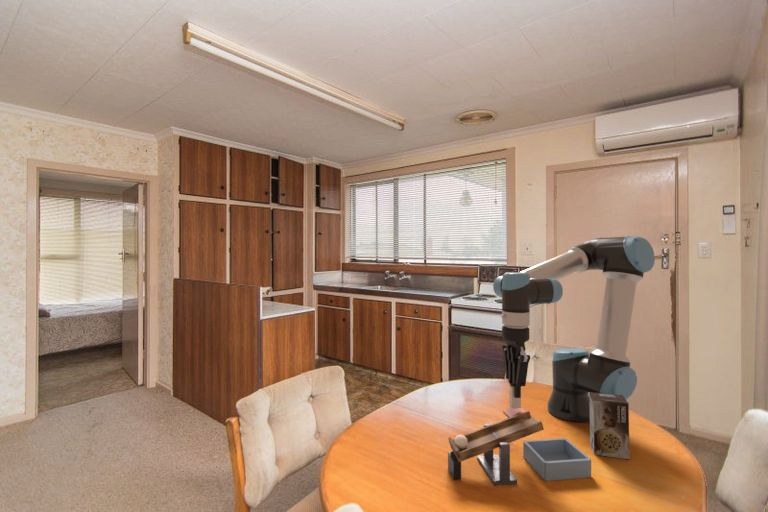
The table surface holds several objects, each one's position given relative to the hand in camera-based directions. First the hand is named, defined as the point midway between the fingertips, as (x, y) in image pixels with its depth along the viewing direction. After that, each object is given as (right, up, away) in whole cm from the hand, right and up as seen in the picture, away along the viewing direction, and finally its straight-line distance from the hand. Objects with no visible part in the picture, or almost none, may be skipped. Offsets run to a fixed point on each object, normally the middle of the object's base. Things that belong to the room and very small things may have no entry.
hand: (515, 407), depth 108 cm
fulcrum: (-13, -14, -8) cm, 21 cm away
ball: (-18, -6, -9) cm, 20 cm away
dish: (+9, -14, -6) cm, 17 cm away
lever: (-8, -5, -5) cm, 11 cm away
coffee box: (+28, -14, +1) cm, 31 cm away
